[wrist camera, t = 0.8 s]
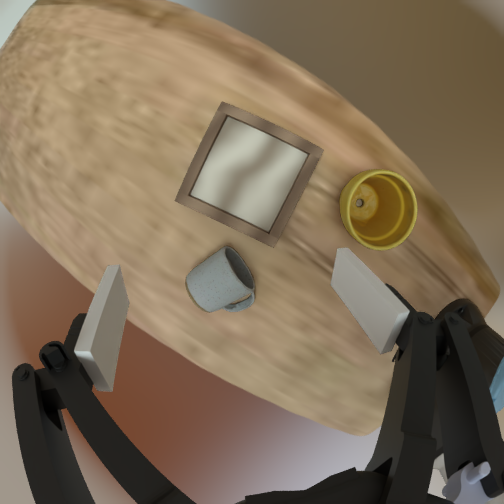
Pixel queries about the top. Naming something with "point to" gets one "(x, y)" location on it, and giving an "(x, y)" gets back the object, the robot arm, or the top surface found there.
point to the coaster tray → (248, 174)
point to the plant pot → (378, 209)
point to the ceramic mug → (221, 282)
